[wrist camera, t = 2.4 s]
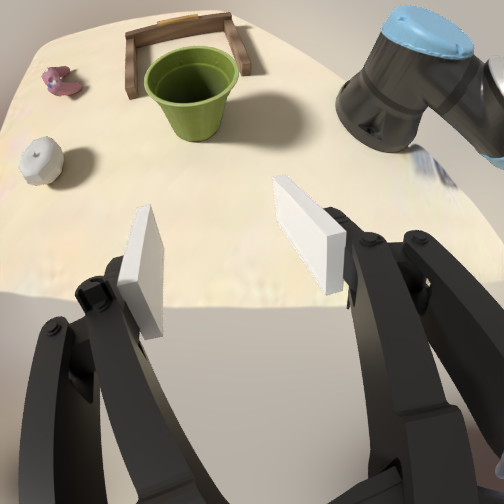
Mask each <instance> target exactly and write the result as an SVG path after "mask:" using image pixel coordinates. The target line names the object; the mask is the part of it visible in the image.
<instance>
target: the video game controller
mask: <svg viewBox="0 0 504 504" xmlns="http://www.w3.org/2000/svg"><path fill="white" fill-rule="evenodd" d="M69 72H70V68H69V67H66V66H61V67H50V68H47V70H45V71H44V73H43V74H42V76H41V77H42V79H43V81H44V83H45V84H46V85H47V86H48V91H49V92H51V93H52V94H54V95H56V96H62V95H71V94H74V93H77V92H79V91H80V90H81V89H82V84H81V83H78V82H71V83H65V82H63V81H61V79H60V77H63V76H65V75H67V74H68V73H69Z"/></svg>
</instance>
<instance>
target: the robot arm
mask: <svg viewBox="0 0 504 504" xmlns="http://www.w3.org/2000/svg"><path fill="white" fill-rule="evenodd" d="M473 53H474V45H473V43H472V41H471V39H470V38H469V37H468V36H467V35H466V34H465V33H464V32H462V31H461V29H460V28H459V27H458V26H456V25H455V24H454V23H452V22H451V21H449V20H448V19H446V18H444V17H442V16H440V15H439V14H436V13H434V12H432V11H430V10H427V9H424V8H421V7H417V6H411V5H410V6H409V5H404V6H399V7H397V8H395V9H394V10H393V11H392V12H391V14H390V16H389V17H388V19H387V21H386V22H385V23H384V24H383V25H382V27H381V33H380V35H379V37H378V39H377V41H376V43H375V45H374V47H373V49H372V51H371V53H370V55H369V57H368V59H367V61H366V63H365V65H364V67H363V69H362V70H361V71H360V72H359V73H357V74H356V75H355V76H354V77H352V78H351V79H350V80H349V81H347V82H346V83H345V84H344V85H343V86H342V88H341V89H340V91H339V94H338V96H337V98H336V111H337V114H338V117H339V119H340V121H341V122H342V124H343V125H344V127H345V128H346V129H347V130H348V131H349V132H350V133H351V134H352V135H353V136H354V137H355V138H356V139H358V140H359V141H360V142H362V143H363V144H365V145H367V146H369V147H371V148H373V149H376V150H379V151H383V152H398V151H401V150H403V149H405V148H406V147H407V146H408V145H409V144H410V143H411V142H412V141H413V140H414V138H415V136H416V134H417V130H418V126H419V123H420V120H421V117H422V114H423V112H424V111H425V110H426V108H427V107H428V106H429V107H430V108H431V109H433V110H434V111H435V112H436V113H438V114H439V115H440V116H441V117H442V118H443V119H444V120H446V121H447V122H448V123H449V124H450V125H451V126H452V127H453V128H455V129H456V130H457V131H458V132H459V133H460V134H461V135H462V136H463V137H464V138H465V139H467V141H469V142H470V144H472V145H473V146H474V147H475V149H476V150H477V151H478V153H479V154H481V155H482V156H483V157H485V158H486V159H487V160H489V162H490V163H492V164H493V165H494V166H495V167H497V168H500V169H504V57H501V56H497V55H494V56H492V57H491V58H490V59H489V60H488V61H487V62H486V63H483V62H482V61H481V60H480V59H479V58H477V57H476V56H475V55H474V54H473ZM272 178H273V188H274V197H275V206H276V216H277V223H278V224H279V226H280V227H281V229H282V230H283V232H284V233H285V235H286V236H287V238H288V239H289V241H290V242H291V244H292V245H293V247H294V248H295V250H296V251H297V253H298V254H299V256H300V257H301V259H302V260H303V262H304V263H305V265H306V266H307V268H308V269H309V271H310V272H311V274H312V275H313V277H314V278H315V280H316V282H317V283H318V285H319V286H320V288H321V289H322V291H323V292H324V294H325V295H326V296H327V295H330V294H333V293H337V292H340V291H343V281H344V280H345V281H346V283H347V284H348V285H349V291H348V301H347V309H349V308H350V307H351V312H352V317H353V322H354V328H355V334H356V339H357V345H358V351H359V358H360V364H361V371H362V377H363V385H364V392H365V400H366V408H367V416H368V426H369V437H370V449H371V450H370V457H369V463H368V479H367V480H364V481H362V482H360V483H358V484H356V485H355V486H353V487H352V488H351V489H349V490H348V491H346V492H345V493H343V494H342V495H340V496H339V497H337V498H336V499H334V500H333V501H331V502H329V503H328V504H504V493H502V492H498V491H494V490H491V489H487V488H483V487H480V486H477V482H476V476H475V469H474V464H473V458H472V453H471V448H470V443H469V439H468V434H467V430H466V426H465V422H464V418H463V415H462V413H461V410H460V409H459V408H458V407H457V406H456V405H450V404H449V403H448V402H447V400H446V398H445V394H444V391H443V387H442V383H441V380H440V377H439V373H438V370H437V367H436V364H435V361H434V358H433V355H432V352H431V349H430V346H429V344H430V345H431V347H432V348H433V349H434V351H435V353H436V354H437V356H438V358H439V359H440V361H441V363H442V364H443V366H444V367H445V369H446V371H447V372H448V374H449V375H450V377H451V379H452V381H453V382H454V384H455V386H456V388H457V389H458V391H459V393H460V394H461V396H462V398H463V400H464V402H465V403H466V405H467V407H468V409H469V410H470V412H471V414H472V416H473V418H474V420H475V422H476V424H477V426H478V427H479V430H480V431H481V433H482V435H483V437H484V438H485V440H486V442H487V443H488V445H489V446H490V447H491V449H492V450H493V451H494V453H495V454H496V455H497V456H498V457H499V458H500V459H501V461H500V462H499V463H498V465H497V466H496V471H495V472H496V476H497V477H498V478H502V479H503V478H504V310H503V308H502V307H501V306H500V305H499V304H498V303H497V301H496V300H495V299H494V298H493V297H492V296H491V295H490V294H489V293H488V291H487V290H485V288H484V287H483V286H482V285H481V284H480V283H479V282H478V281H477V280H476V278H475V277H474V276H473V275H472V274H471V273H470V272H469V271H468V270H467V269H466V268H465V267H464V266H463V265H462V264H461V263H460V262H459V261H458V260H457V259H456V258H455V257H454V256H453V255H452V254H451V253H450V252H449V251H448V250H446V249H445V248H444V247H443V246H442V245H441V244H440V243H439V242H438V241H437V240H436V239H435V238H434V237H432V236H431V235H430V234H428V233H426V232H423V231H419V230H412V231H408V232H406V233H405V234H404V239H403V242H394V243H387V242H386V240H385V239H384V237H382V236H381V235H379V234H376V233H372V232H364V231H362V230H361V229H360V228H359V227H358V226H357V225H356V224H355V223H354V222H353V221H351V220H350V219H349V218H348V217H346V215H345V214H344V213H343V212H341V211H340V210H338V209H335V208H333V207H328V208H322V207H321V206H320V205H319V204H318V203H316V202H315V201H314V200H313V199H312V198H311V197H310V196H309V195H308V194H307V193H306V192H305V191H304V190H302V189H301V188H300V187H299V186H298V185H297V184H296V183H295V182H294V181H293V180H292V179H290V178H289V177H288V176H287V175H281V176H275V177H272ZM163 270H164V246H163V243H162V240H161V237H160V234H159V230H158V227H157V224H156V221H155V217H154V214H153V211H152V207H151V204H150V205H146V206H142V207H138V208H137V209H136V213H135V216H134V219H133V223H132V226H131V230H130V234H129V237H128V241H127V245H126V249H125V253H124V256H120V257H116V258H113V259H112V260H111V261H110V263H109V264H108V265H107V267H106V271H105V274H104V276H95V277H92V278H89V279H87V280H86V281H84V282H83V283H82V284H81V285H79V286H78V288H77V290H76V292H75V297H76V298H77V300H78V302H79V304H80V305H81V307H82V309H83V311H84V312H85V316H84V317H83V318H81V319H79V320H77V321H75V322H73V323H71V324H69V323H68V321H67V320H66V318H64V317H62V316H61V317H55V318H53V319H50V320H49V321H47V322H46V324H45V325H44V326H43V327H42V329H41V331H40V334H39V337H38V341H37V345H36V349H35V353H34V357H33V362H32V366H31V371H30V376H29V381H28V387H27V392H26V398H25V405H24V412H23V419H22V429H21V438H20V452H19V504H108V502H107V495H106V487H105V479H104V470H103V460H102V447H101V429H100V388H101V392H102V395H103V399H104V403H105V406H106V410H107V413H108V417H109V420H110V423H111V426H112V429H113V432H114V435H115V438H116V441H117V444H118V446H119V449H120V452H121V455H122V457H123V460H124V462H125V465H126V467H127V470H128V472H129V475H130V477H131V479H132V482H133V484H134V486H135V488H136V491H137V494H138V498H139V500H138V502H137V503H136V504H229V503H228V501H227V500H226V499H225V498H224V497H223V495H222V494H221V493H220V491H219V490H218V488H217V487H216V485H215V484H214V482H213V480H212V479H211V477H210V476H209V474H208V473H207V471H206V469H205V468H204V466H203V464H202V463H201V461H200V460H199V458H198V456H197V454H196V453H195V451H194V449H193V448H192V446H191V444H190V442H189V441H188V439H187V437H186V435H185V433H184V431H183V430H182V428H181V426H180V424H179V422H178V420H177V418H176V416H175V414H174V412H173V410H172V409H171V407H170V405H169V403H168V401H167V398H166V397H165V394H164V392H163V390H162V388H161V386H160V384H159V382H158V380H157V377H156V375H155V373H154V371H153V369H152V367H151V364H150V362H149V359H148V357H147V355H146V353H145V350H144V347H143V346H142V344H141V342H140V341H139V332H141V334H142V336H143V338H144V340H148V339H153V338H158V337H163ZM426 279H428V280H429V281H430V283H431V284H430V287H429V286H428V285H427V284H426V283H425V282H426ZM428 342H429V343H428Z"/></svg>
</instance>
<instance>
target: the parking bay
mask: <svg viewBox="0 0 504 504" xmlns="http://www.w3.org/2000/svg"><path fill="white" fill-rule="evenodd" d="M219 31H224V32H225V34H226V37H227V40H228V42H229V45H230V47H231V50H232V52H233V55H234V58H235V60H236V63H237V65H238V68H239V71H240V73H241V76H247V75H250V70H251V62H250V59H249V57H248V55H247V52H246V50H245V48H244V45H243V43H242V41H241V39H240V36H239V34H238V32H237V30H236V28H235V25H234V23H233V21H232V15H231V13H230V12H228V13H219V14H211V15H204V16H198V14H194V15H188V16H183V17H177V18H172V19H168V20H163V21H159V22H157V24H156V25H152V26H148V27H144V28H140V29H137V30H133V31H130V32H126V33H125V37H126V59H125V90H126V92H127V95H128V97H129V100H131V99H134V98H138V90H137V48H139V47H143V46H147V45H151V44H155V43H159V42H163V41H167V40H172V39H177V38H182V37H187V36H193V35H198V34H205V33H211V32H219Z"/></svg>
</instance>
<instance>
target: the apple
mask: <svg viewBox="0 0 504 504" xmlns="http://www.w3.org/2000/svg"><path fill="white" fill-rule="evenodd" d="M63 162H64V155H63V152H62V149H61V147H60V146H59V145H58V144H57V143H56V142H55V141H54V140H53V139H52V138H50V137H47V136H46V137H43V138H39V139H36V140H33V142H32V143H31V144H30V145H29V146H28V147H27V148H26V149H25V150H24V151H23V153H22V157H21V160H20V164H19V170H20V172H21V174H22V175H23V177H24V178H25V180H26V181H27V183H28V184H30V185H35V186H38V185H44V184H48V183H52V182H53V181H54V180H55V179H56V178H57V177H58V176H59V175H60V174H61V171H62V167H63Z"/></svg>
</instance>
